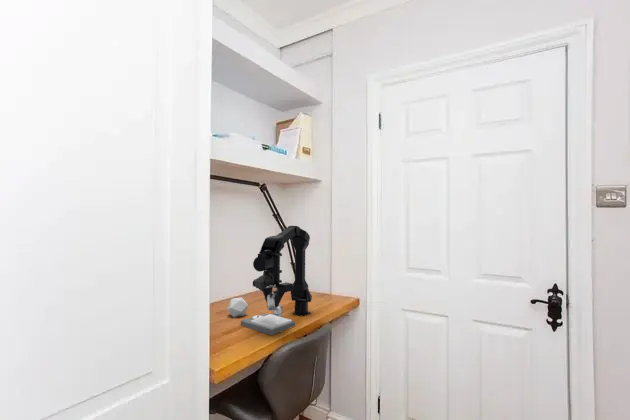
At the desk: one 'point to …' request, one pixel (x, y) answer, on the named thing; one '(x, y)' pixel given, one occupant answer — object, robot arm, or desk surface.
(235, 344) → the desk surface
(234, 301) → the die
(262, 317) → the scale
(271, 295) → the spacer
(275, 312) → the spacer
